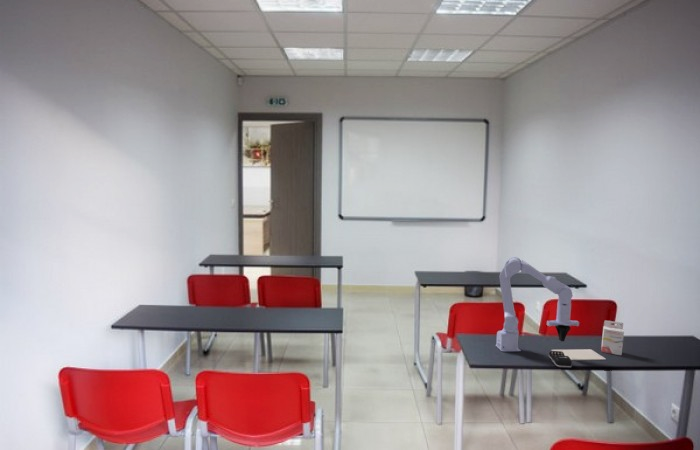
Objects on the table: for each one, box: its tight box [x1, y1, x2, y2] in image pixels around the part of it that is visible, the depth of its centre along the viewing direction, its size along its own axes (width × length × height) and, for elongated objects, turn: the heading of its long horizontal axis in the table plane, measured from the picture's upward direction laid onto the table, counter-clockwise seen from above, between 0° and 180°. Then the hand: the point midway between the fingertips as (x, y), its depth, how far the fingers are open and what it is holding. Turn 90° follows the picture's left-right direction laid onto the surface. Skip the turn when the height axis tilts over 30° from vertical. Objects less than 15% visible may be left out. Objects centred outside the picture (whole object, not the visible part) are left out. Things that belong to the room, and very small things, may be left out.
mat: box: [550, 348, 607, 361], centre depth 226 cm, size 20×12×1 cm, turn 95°
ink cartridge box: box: [600, 319, 625, 356], centre depth 230 cm, size 9×5×15 cm, turn 65°
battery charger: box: [548, 350, 573, 369], centre depth 216 cm, size 7×4×11 cm
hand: (561, 340), depth 224 cm, fingers closed
